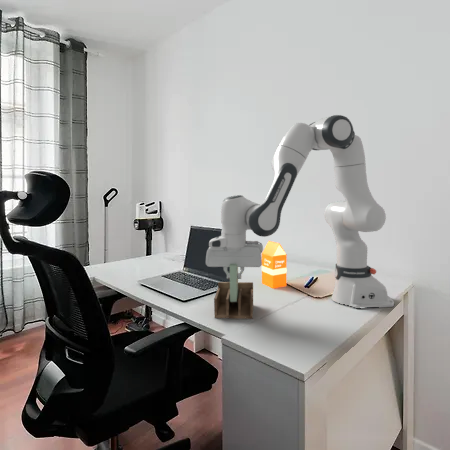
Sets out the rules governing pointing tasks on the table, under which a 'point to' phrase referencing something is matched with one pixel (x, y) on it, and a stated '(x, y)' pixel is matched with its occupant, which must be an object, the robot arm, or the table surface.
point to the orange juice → (274, 265)
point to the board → (233, 283)
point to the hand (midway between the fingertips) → (234, 278)
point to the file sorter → (234, 309)
